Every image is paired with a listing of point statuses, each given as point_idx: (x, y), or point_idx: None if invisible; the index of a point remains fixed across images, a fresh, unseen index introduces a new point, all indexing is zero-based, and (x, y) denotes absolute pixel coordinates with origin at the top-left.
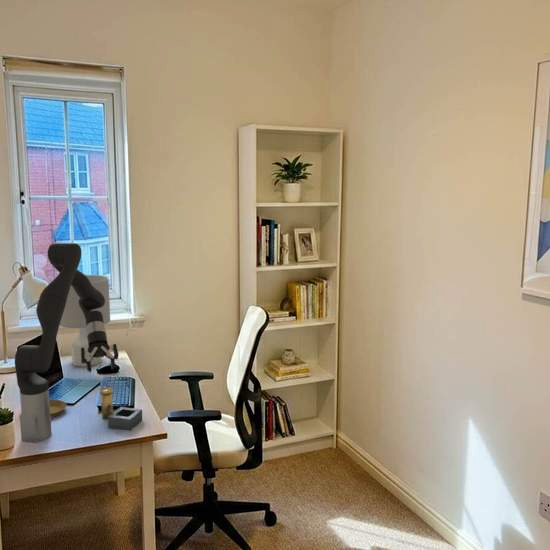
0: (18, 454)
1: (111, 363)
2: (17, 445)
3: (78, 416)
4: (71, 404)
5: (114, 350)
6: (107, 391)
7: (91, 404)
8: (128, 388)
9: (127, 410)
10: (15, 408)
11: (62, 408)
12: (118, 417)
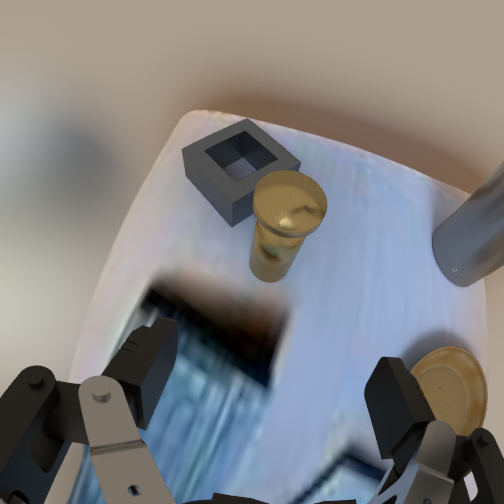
0: None
1: (162, 349)
2: None
3: (360, 328)
4: (354, 456)
5: (10, 451)
6: (293, 176)
7: (287, 421)
8: (92, 477)
9: (222, 171)
10: None
11: None
12: (272, 141)
